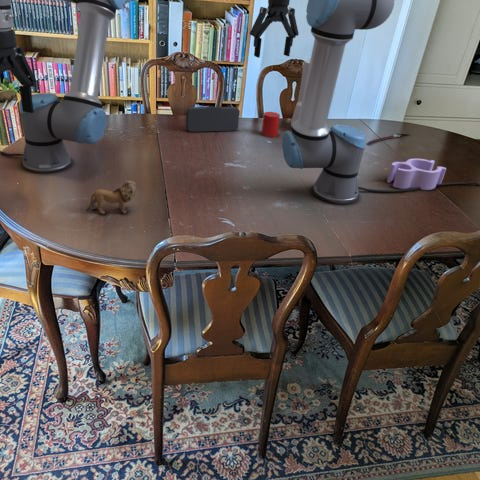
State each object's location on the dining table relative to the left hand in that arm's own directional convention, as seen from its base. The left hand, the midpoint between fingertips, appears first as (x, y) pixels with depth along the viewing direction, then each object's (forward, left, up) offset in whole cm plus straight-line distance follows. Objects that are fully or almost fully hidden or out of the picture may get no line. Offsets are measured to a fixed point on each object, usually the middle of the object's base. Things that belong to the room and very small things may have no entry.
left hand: (11, 119), depth 118 cm
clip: (+119, +58, -27) cm, 135 cm away
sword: (+117, +104, -27) cm, 159 cm away
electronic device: (+77, +103, -27) cm, 131 cm away
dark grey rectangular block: (+38, +85, -27) cm, 97 cm away
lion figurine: (+22, +8, -27) cm, 36 cm away
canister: (+63, +90, -27) cm, 113 cm away
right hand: (+60, +76, +8) cm, 97 cm away
